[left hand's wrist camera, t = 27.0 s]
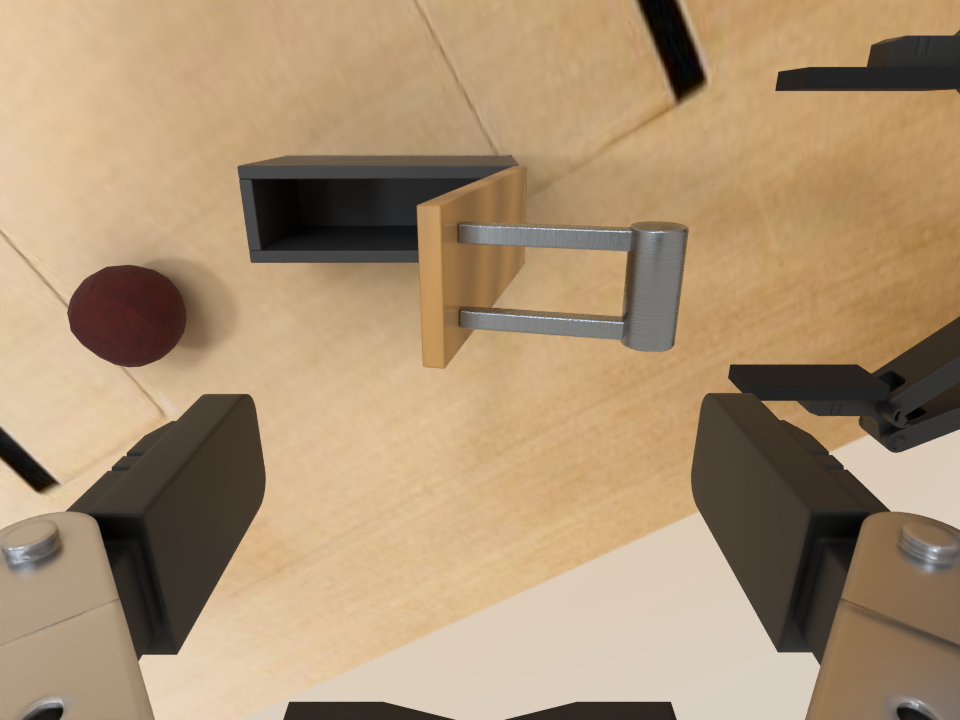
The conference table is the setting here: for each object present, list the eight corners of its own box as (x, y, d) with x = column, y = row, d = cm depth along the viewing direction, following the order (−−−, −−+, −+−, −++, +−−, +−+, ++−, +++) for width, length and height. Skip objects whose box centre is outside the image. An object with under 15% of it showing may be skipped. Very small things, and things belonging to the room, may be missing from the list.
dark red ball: (181, 361, 51) (137, 397, 44) (90, 314, 49) (30, 344, 43) (216, 287, 48) (174, 314, 42) (121, 236, 47) (63, 255, 40)
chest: (296, 233, 47) (250, 263, 38) (287, 155, 45) (236, 165, 35) (509, 233, 47) (517, 262, 38) (511, 155, 45) (519, 165, 35)
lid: (422, 367, 22) (675, 390, 20) (416, 204, 20) (698, 213, 18) (511, 263, 37) (658, 271, 35) (512, 165, 35) (670, 168, 33)
